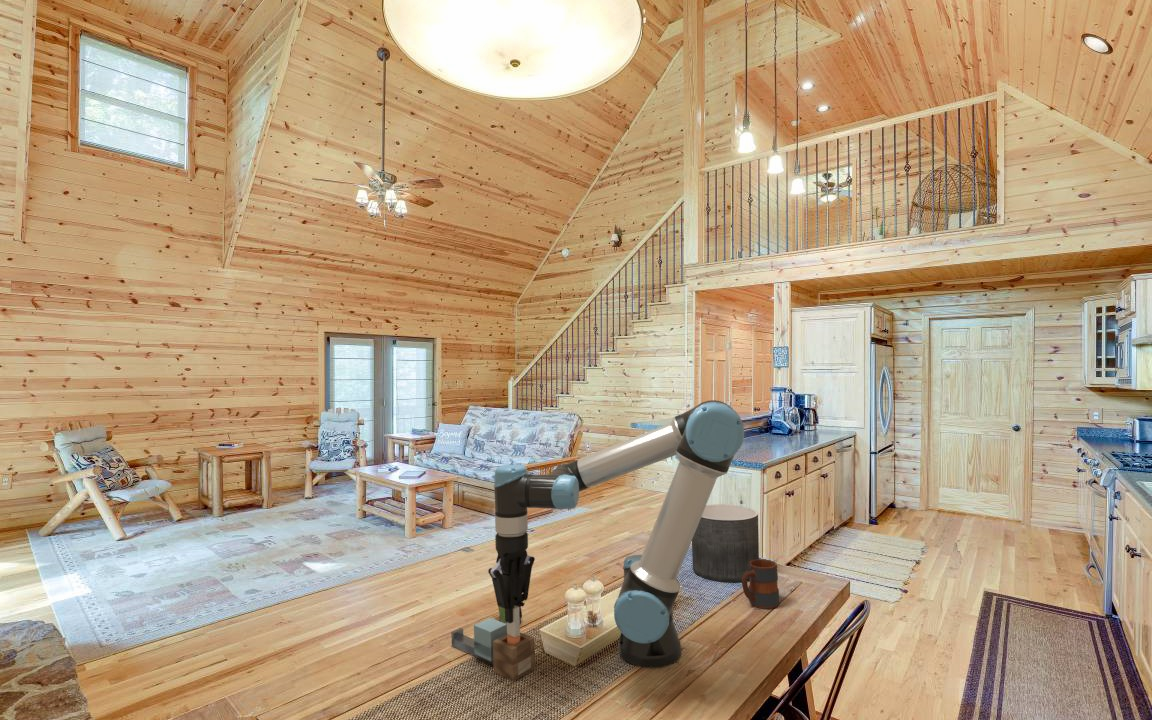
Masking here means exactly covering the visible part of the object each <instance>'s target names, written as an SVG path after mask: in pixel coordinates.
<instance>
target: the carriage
mask: <svg viewBox="0 0 1152 720" xmlns="http://www.w3.org/2000/svg"><path fill="white" fill-rule="evenodd" d="M505 635H507V624H505V623H503V622H501V621H499V620H497V619H494V618H493V617H489V618H486V619H485V620H482V621H479V622H478V623H475V624H474V625H473V639H474V654H476V655H478V656H481V657H483V658H485V659H487V660H489V661H493V641H495V640H497V639H499V638H501V637H503V636H505Z"/></svg>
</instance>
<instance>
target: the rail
mask: <svg viewBox="0 0 1152 720" xmlns="http://www.w3.org/2000/svg"><path fill="white" fill-rule="evenodd" d="M450 634H451V635H450V637H451V647H453V648H456V649H458V650H460V651H462V652H463V653H466V654H468V655H471V656H472V657H475V658H477V659H479V660H481V661H484V662H486V663H487V664H490V665H492V666H493V661H489V660H487V659H485V658H483V657H481V656H478V655H476V654H474V638H473V637H469V636H467V635H465V634H464V628H462V627H459V628H457V629H455V630H453V631H451V633H450Z"/></svg>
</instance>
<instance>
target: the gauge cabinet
mask: <svg viewBox="0 0 1152 720" xmlns="http://www.w3.org/2000/svg"><path fill="white" fill-rule="evenodd" d="M507 635H508V634H507ZM507 635H505V636H503V637H501V638H499V639H497V640H495V641H493V665H492V666H493V673H494V674H498V675H499V676H502V677H504V678H506V679H507V680H510V681H512V682H514V681H516V680H518V679H519V678H521V677H523V676H525V675H526V674H528V673H530V672H532V671H533V670H534V669H536V656H535V655H536V652H535V651H536V650H535V647H536V646H535V637H533V636H530V635H528V634H526V633H523V632H520V642H518V643H516V644H514V645H513V646H512V645H510V644H507Z"/></svg>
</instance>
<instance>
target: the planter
mask: <svg viewBox="0 0 1152 720" xmlns="http://www.w3.org/2000/svg"><path fill="white" fill-rule="evenodd" d="M759 536H760V535H759V512H758V511H757V510H755V509H753V508H751V507H747V506H742V505H735V504H727V503H726V504H724V503H723V504H722V503H721V504H719V503H717V504H716V503H715V504H713V503H712V504H706V507H705V509H704V511H703V514H702V516H701V519H700V521H699V524H698V526H697V529H696V531H695V534H694V536H693V539H692V541H691V557H692V559H691V560H692V571H693V573H694V574H696V575H697V576H699V577H701V578H704V579H707V580H710V581H716V582H722V583H740V582H741V583H742V576H743V574H744V573H745V572H748V571H749V563H750V561H752V560H757V559H760V543H759V542H760V541H759V540H760V538H759ZM748 581H750V578H749V577H748V578H747V582H748Z"/></svg>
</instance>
